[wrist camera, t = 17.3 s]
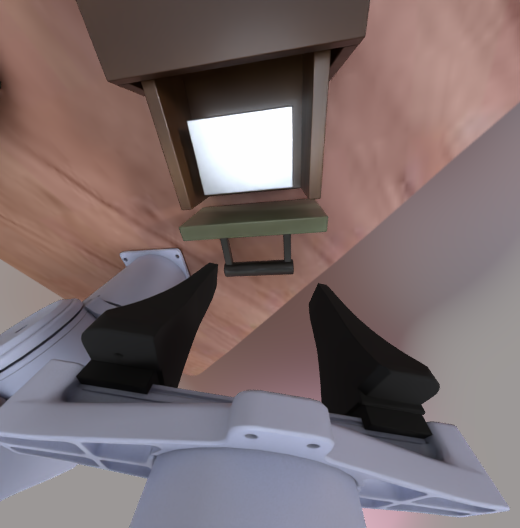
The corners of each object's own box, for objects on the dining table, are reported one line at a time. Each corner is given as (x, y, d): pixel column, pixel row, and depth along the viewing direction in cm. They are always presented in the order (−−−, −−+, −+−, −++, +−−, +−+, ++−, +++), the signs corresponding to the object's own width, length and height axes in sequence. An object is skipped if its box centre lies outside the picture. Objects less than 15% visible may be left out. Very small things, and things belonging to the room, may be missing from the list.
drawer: (311, 252, 21) (322, 282, 16) (215, 257, 22) (198, 287, 17) (324, -6, 11) (360, -118, 7) (156, 28, 13) (84, -46, 8)
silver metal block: (288, 116, 14) (292, 105, 10) (289, 179, 16) (293, 187, 13) (206, 126, 15) (185, 120, 11) (218, 186, 17) (204, 195, 13)
